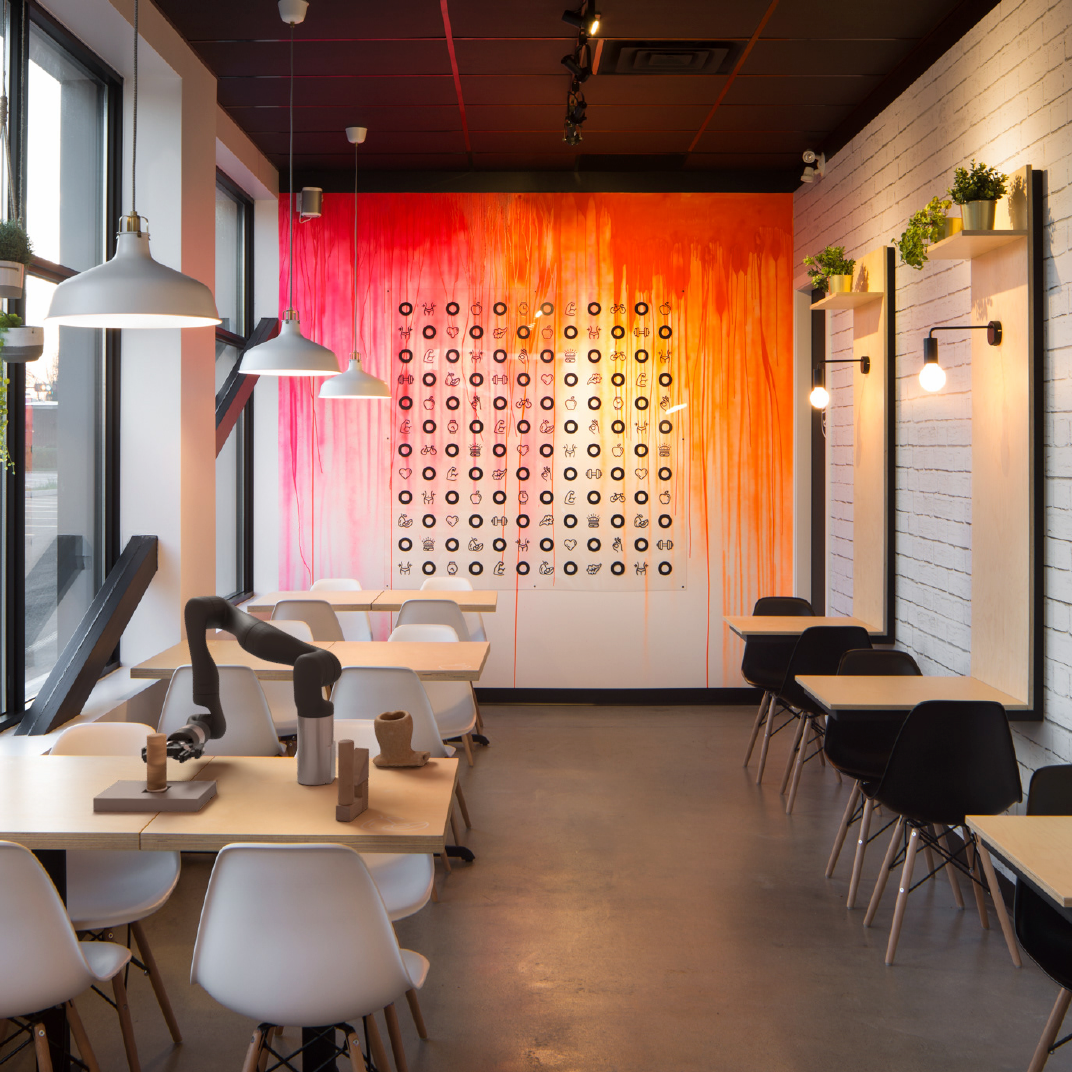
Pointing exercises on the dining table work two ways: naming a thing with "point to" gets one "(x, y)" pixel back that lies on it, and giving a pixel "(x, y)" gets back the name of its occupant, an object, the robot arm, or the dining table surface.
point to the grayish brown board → (155, 796)
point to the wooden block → (352, 780)
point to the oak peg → (157, 763)
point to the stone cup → (397, 740)
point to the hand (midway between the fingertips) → (163, 759)
